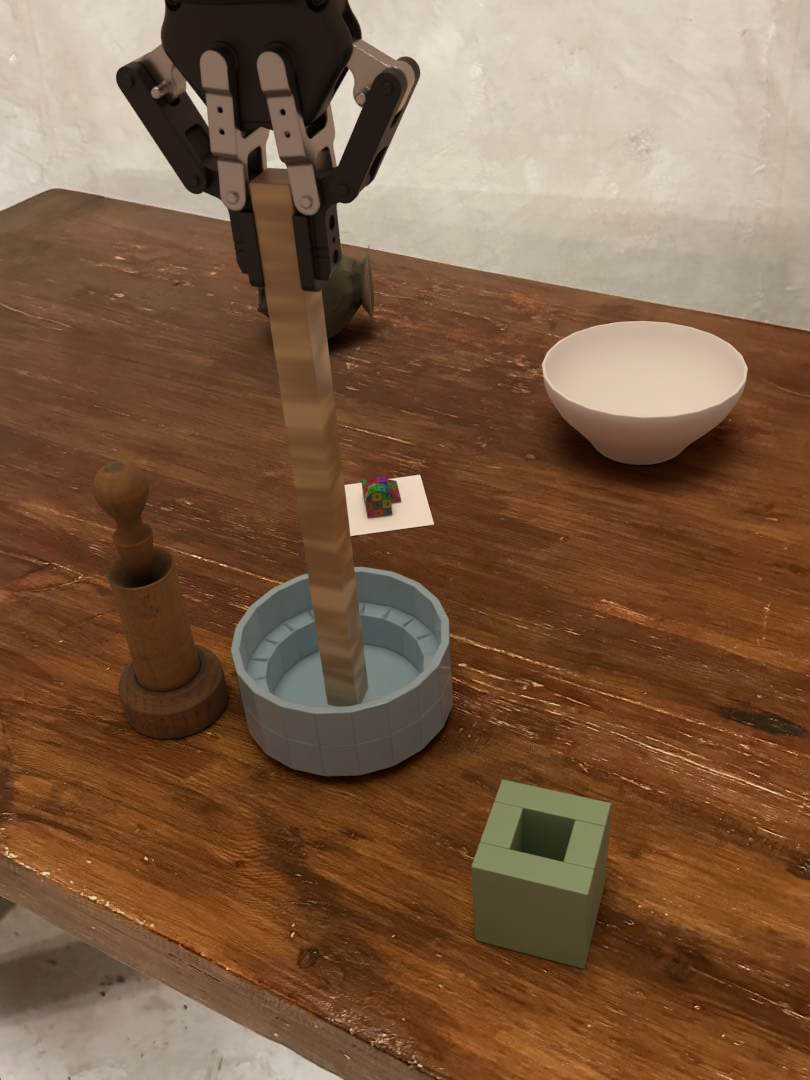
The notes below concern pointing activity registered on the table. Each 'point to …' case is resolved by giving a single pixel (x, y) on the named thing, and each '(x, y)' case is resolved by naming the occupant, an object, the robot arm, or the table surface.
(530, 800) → the stick holder
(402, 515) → the white board
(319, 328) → the stick
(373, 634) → the light blue round container
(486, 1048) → the table surface
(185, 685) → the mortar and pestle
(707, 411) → the bowl
